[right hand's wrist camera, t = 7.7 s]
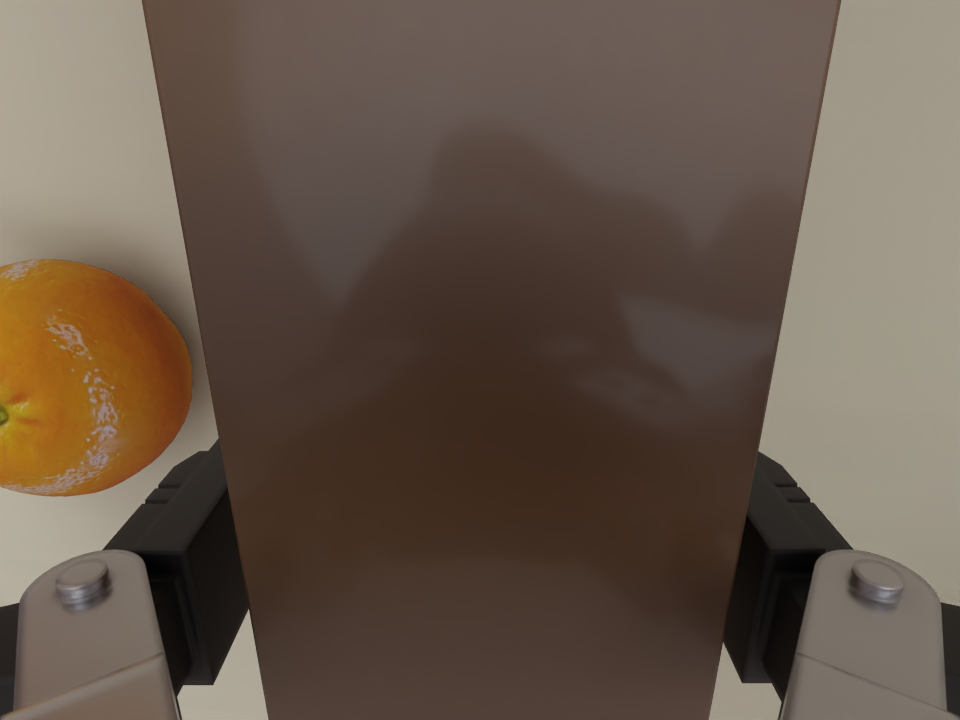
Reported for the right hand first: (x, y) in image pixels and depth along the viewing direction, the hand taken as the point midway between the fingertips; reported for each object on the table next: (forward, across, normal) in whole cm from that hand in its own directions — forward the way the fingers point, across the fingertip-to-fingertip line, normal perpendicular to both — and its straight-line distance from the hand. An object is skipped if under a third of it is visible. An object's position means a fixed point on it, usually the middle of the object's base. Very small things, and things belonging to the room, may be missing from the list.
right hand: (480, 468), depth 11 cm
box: (+7, 0, +10) cm, 12 cm away
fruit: (+15, -15, -3) cm, 21 cm away
